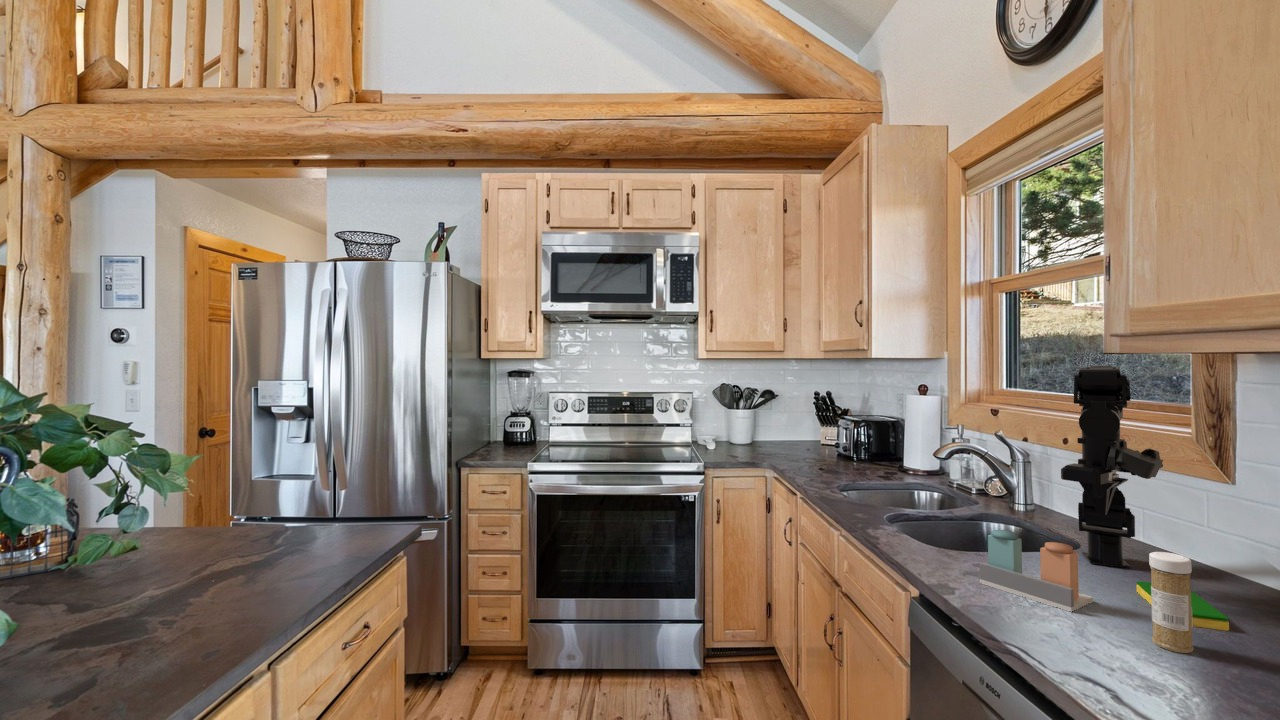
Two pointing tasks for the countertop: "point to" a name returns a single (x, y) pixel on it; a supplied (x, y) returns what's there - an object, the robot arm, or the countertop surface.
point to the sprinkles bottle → (1171, 601)
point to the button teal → (1005, 550)
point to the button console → (1032, 587)
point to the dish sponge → (1194, 609)
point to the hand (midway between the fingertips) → (1102, 514)
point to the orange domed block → (1060, 565)
